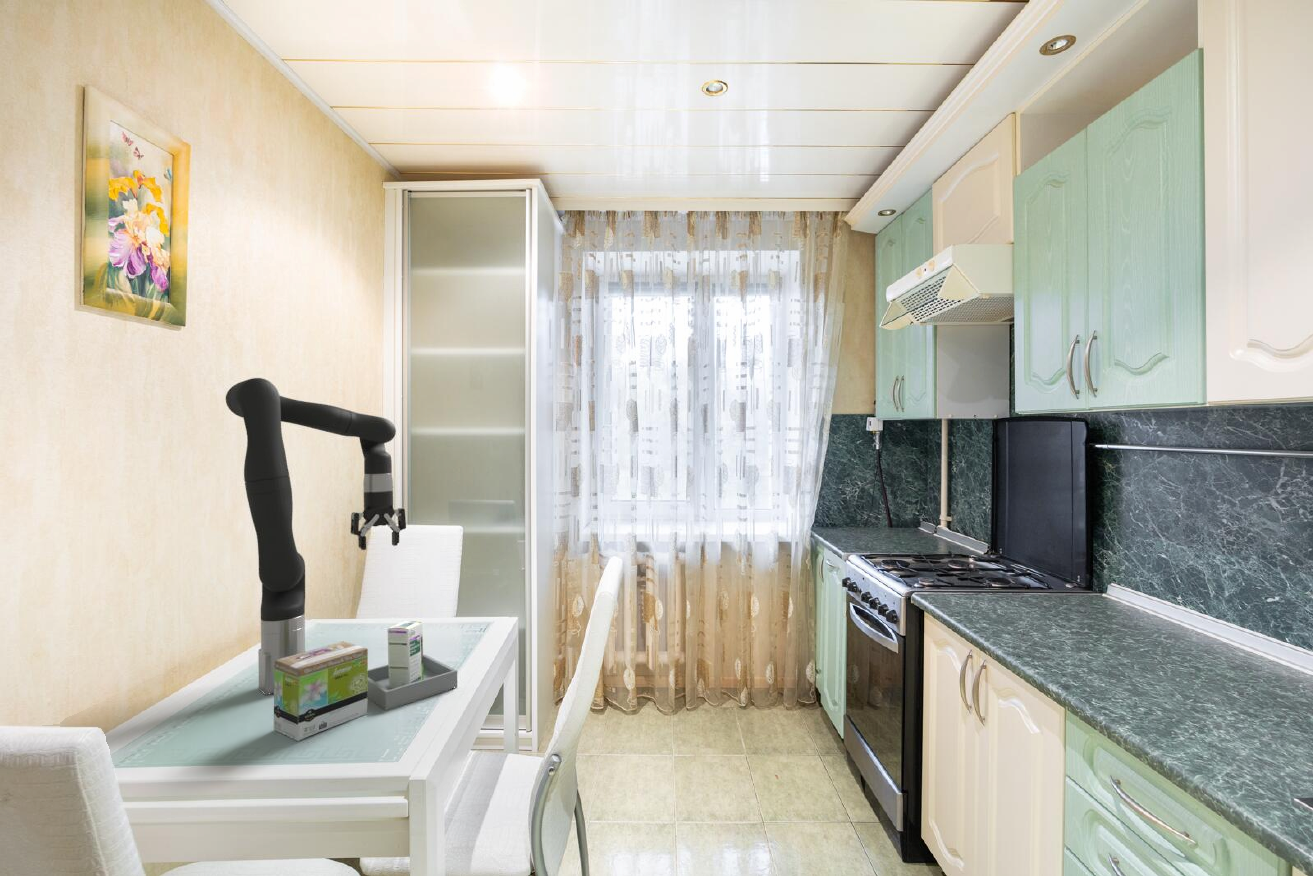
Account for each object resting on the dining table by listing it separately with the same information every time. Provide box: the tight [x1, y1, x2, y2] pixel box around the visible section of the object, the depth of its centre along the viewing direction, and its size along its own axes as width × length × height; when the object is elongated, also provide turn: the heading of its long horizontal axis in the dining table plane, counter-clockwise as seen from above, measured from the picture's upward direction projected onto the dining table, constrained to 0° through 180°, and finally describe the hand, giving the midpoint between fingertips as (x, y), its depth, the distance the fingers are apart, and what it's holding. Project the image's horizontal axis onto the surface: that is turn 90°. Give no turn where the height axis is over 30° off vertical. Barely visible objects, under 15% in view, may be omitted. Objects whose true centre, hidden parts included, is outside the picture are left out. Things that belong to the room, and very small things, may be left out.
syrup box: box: [387, 620, 424, 688], centre depth 146 cm, size 6×6×14 cm
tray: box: [367, 654, 458, 711], centre depth 146 cm, size 17×17×4 cm
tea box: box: [273, 640, 369, 742], centre depth 129 cm, size 15×10×15 cm
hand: (379, 547), depth 170 cm, fingers open, 8 cm apart
